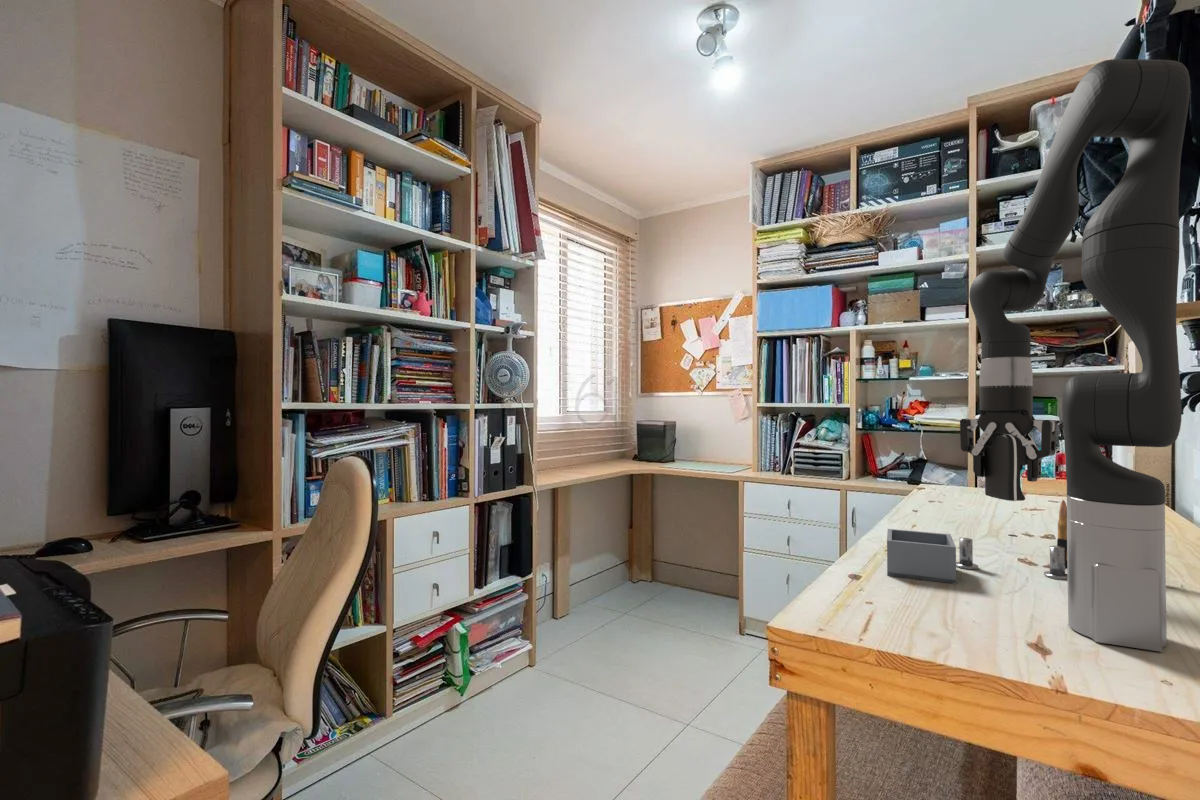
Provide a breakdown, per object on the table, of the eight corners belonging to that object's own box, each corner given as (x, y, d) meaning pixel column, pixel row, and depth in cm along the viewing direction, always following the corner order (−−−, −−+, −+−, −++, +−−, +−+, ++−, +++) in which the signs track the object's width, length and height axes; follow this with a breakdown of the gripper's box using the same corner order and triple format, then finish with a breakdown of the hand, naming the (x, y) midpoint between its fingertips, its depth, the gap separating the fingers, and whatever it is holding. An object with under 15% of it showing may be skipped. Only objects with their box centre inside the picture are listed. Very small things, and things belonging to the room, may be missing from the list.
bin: (956, 584, 91) (955, 547, 91) (887, 575, 96) (887, 540, 96) (950, 567, 100) (950, 534, 100) (887, 560, 104) (887, 528, 104)
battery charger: (1034, 502, 93) (1033, 434, 94) (1010, 502, 94) (1009, 434, 94) (1004, 496, 100) (1004, 433, 101) (983, 496, 101) (982, 432, 101)
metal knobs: (1074, 581, 92) (1073, 551, 92) (955, 567, 100) (955, 539, 100) (1068, 575, 95) (1067, 546, 95) (953, 562, 103) (953, 535, 103)
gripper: (1064, 384, 94) (1065, 482, 93) (970, 386, 106) (970, 473, 105) (1047, 382, 90) (1047, 485, 89) (951, 385, 102) (951, 475, 101)
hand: (1005, 478), depth 97 cm, fingers closed on battery charger, 7 cm apart
